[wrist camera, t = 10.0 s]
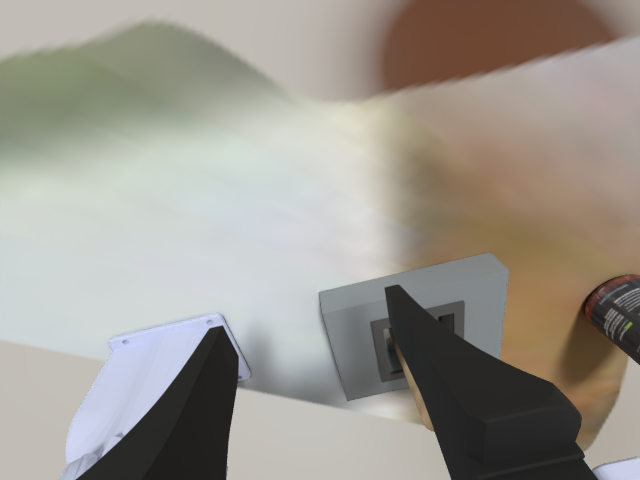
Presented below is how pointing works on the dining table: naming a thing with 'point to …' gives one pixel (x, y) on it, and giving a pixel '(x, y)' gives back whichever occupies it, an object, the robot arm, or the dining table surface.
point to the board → (429, 292)
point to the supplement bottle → (618, 313)
